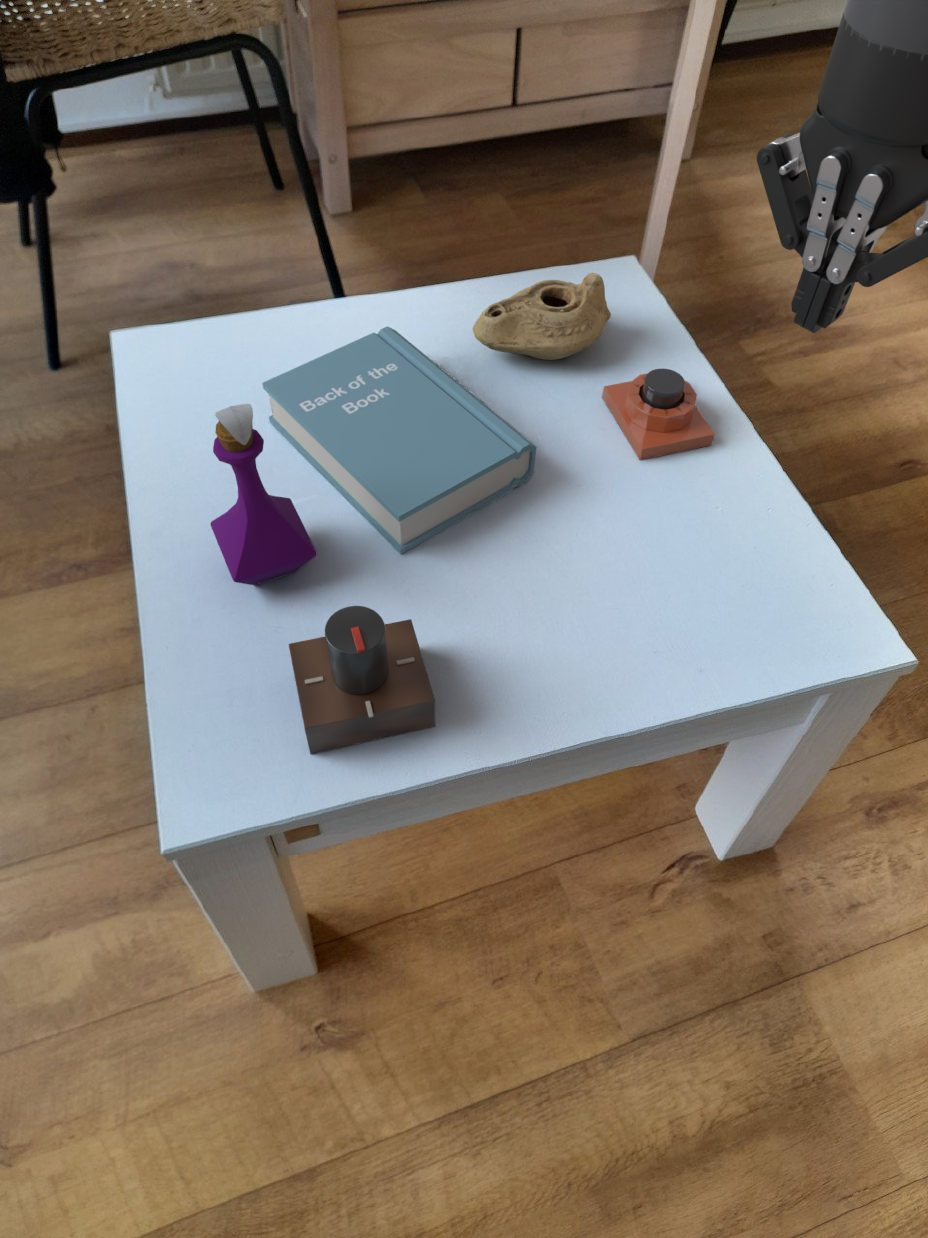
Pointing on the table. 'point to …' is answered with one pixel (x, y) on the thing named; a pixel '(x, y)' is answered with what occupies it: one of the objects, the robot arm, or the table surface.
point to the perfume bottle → (255, 510)
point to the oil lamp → (546, 319)
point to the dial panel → (369, 715)
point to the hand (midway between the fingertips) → (811, 322)
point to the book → (398, 436)
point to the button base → (657, 420)
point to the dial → (357, 649)
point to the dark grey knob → (663, 389)
